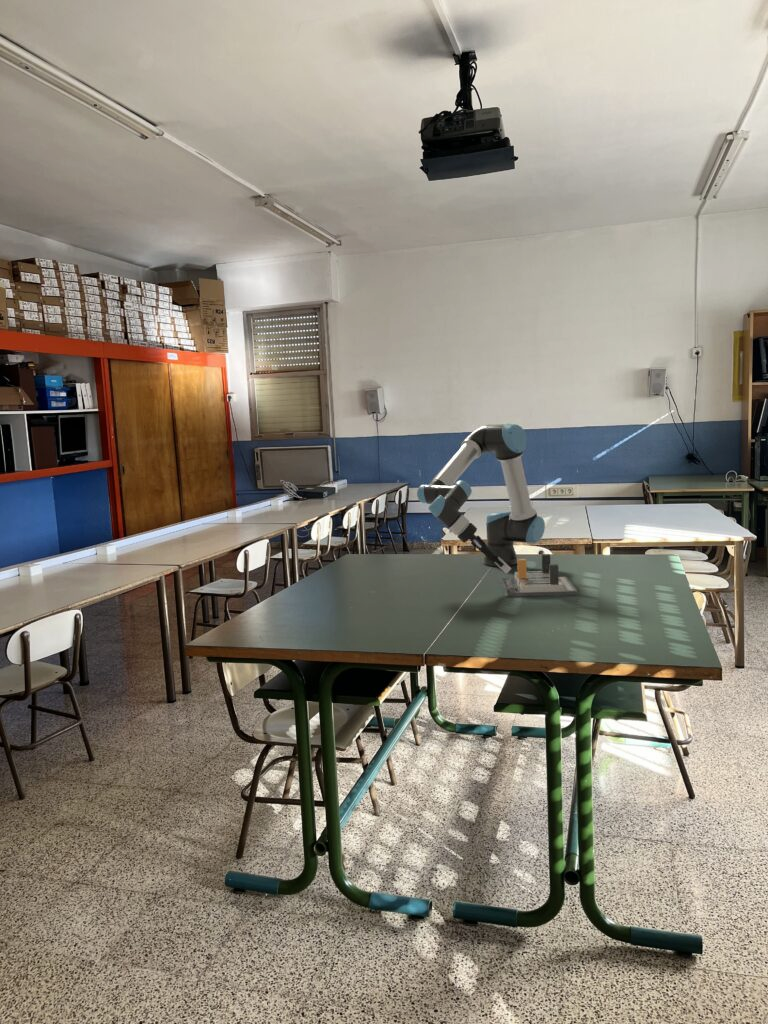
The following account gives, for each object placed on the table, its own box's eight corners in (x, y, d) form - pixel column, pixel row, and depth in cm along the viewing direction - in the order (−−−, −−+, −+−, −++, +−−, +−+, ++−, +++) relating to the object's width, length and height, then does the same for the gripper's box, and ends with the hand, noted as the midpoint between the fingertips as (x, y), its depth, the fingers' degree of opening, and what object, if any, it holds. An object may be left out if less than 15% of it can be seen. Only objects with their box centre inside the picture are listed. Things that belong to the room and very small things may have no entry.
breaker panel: (502, 582, 298) (501, 554, 297) (565, 580, 296) (565, 553, 295) (507, 596, 274) (507, 567, 272) (577, 595, 272) (577, 565, 270)
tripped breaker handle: (517, 577, 286) (517, 559, 286) (525, 576, 286) (525, 558, 285) (518, 578, 284) (518, 560, 283) (526, 578, 284) (526, 560, 283)
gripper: (456, 533, 291) (500, 574, 292) (456, 538, 278) (503, 581, 279) (469, 519, 290) (513, 560, 291) (470, 524, 277) (517, 567, 278)
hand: (508, 570), depth 285 cm, fingers closed
